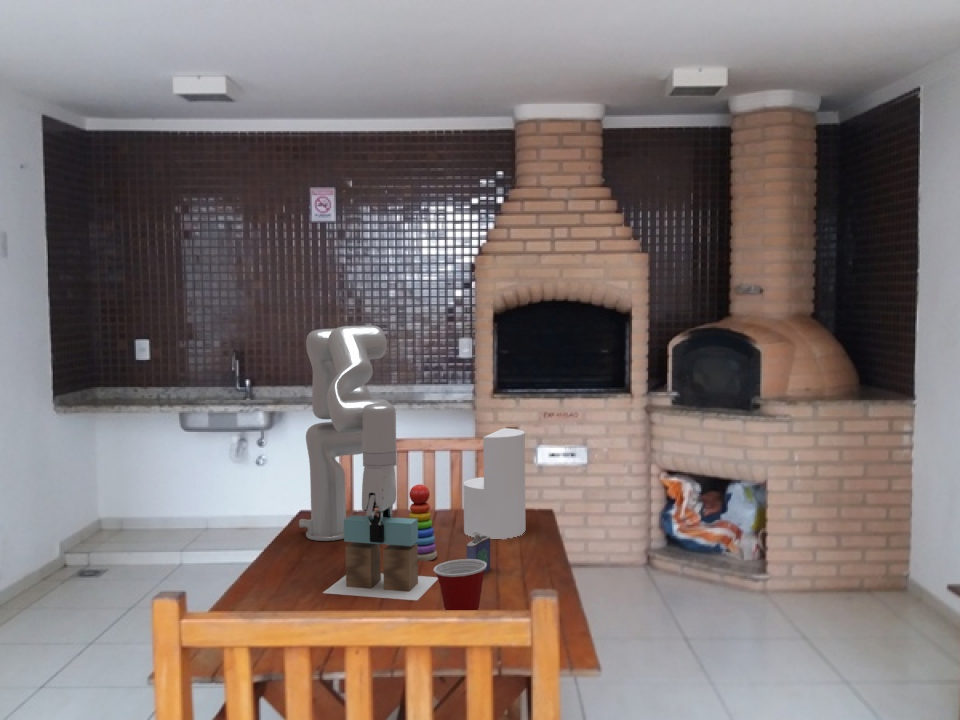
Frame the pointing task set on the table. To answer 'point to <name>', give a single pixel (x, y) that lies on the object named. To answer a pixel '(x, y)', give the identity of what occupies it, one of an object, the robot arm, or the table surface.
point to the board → (379, 591)
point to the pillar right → (400, 567)
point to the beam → (394, 530)
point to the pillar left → (362, 565)
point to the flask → (479, 549)
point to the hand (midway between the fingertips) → (381, 538)
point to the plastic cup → (461, 583)
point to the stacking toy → (423, 522)
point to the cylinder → (498, 488)
